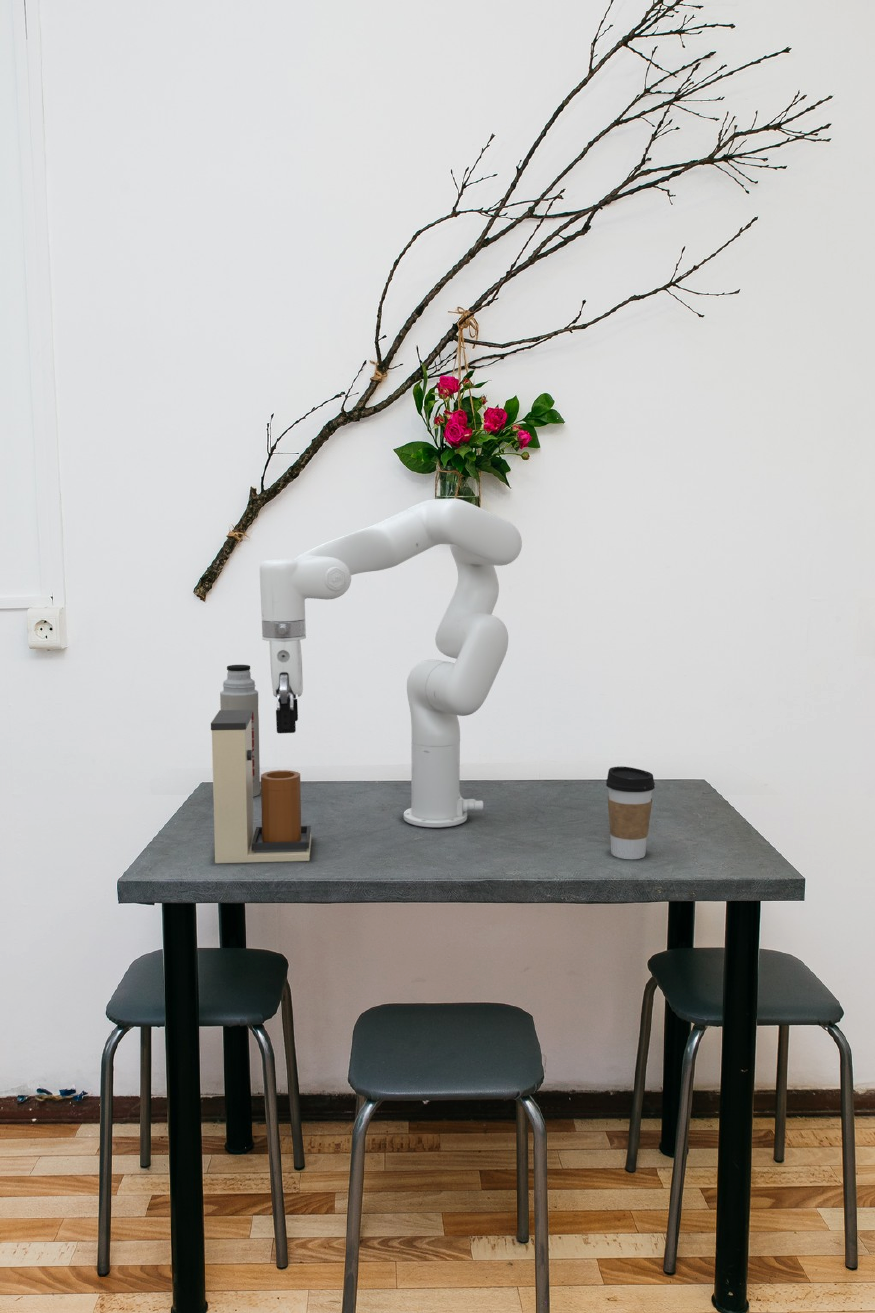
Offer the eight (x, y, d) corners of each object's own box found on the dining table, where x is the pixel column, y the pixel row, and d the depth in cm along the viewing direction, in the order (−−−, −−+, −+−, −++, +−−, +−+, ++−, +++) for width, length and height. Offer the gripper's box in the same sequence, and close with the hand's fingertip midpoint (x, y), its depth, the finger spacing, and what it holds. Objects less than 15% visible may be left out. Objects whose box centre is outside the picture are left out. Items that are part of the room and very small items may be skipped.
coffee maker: (311, 839, 183) (309, 709, 179) (309, 861, 171) (307, 722, 167) (222, 841, 181) (219, 710, 178) (214, 863, 169) (210, 723, 166)
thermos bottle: (262, 797, 211) (259, 667, 207) (223, 800, 209) (220, 668, 205) (258, 788, 218) (255, 662, 215) (221, 790, 216) (218, 663, 213)
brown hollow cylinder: (301, 834, 180) (300, 769, 178) (300, 846, 173) (299, 779, 171) (263, 835, 179) (262, 770, 177) (260, 847, 172) (259, 780, 171)
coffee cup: (618, 843, 181) (621, 763, 179) (660, 853, 176) (663, 770, 174) (595, 855, 174) (597, 771, 173) (638, 865, 169) (641, 779, 167)
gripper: (304, 635, 164) (307, 736, 166) (307, 624, 181) (310, 716, 183) (258, 637, 163) (262, 738, 166) (265, 625, 180) (269, 717, 183)
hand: (287, 726), depth 174 cm, fingers open, 9 cm apart
